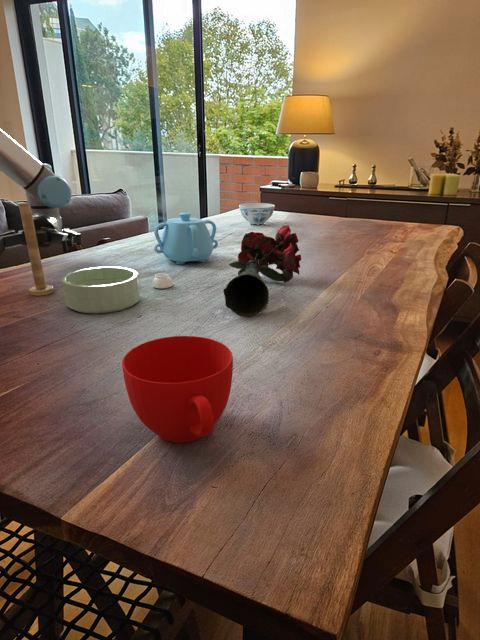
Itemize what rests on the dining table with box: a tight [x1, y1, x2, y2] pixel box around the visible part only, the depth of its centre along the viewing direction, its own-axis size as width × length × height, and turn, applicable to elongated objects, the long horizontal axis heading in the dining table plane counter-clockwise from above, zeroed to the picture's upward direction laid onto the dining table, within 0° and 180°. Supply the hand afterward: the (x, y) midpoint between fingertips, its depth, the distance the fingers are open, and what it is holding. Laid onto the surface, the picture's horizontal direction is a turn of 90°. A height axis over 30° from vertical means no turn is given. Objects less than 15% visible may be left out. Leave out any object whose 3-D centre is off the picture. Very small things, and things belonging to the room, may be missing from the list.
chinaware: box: [238, 202, 276, 225], centre depth 194 cm, size 15×15×8 cm
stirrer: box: [18, 202, 55, 297], centre depth 103 cm, size 5×5×20 cm
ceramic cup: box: [121, 335, 234, 444], centre depth 55 cm, size 13×17×10 cm
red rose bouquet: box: [223, 224, 302, 318], centre depth 107 cm, size 16×18×35 cm
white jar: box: [151, 272, 174, 290], centre depth 112 cm, size 5×3×5 cm
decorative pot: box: [153, 212, 219, 265], centre depth 134 cm, size 16×16×14 cm
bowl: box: [61, 266, 142, 314], centre depth 100 cm, size 16×16×6 cm
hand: (31, 248), depth 100 cm, fingers open, 13 cm apart
